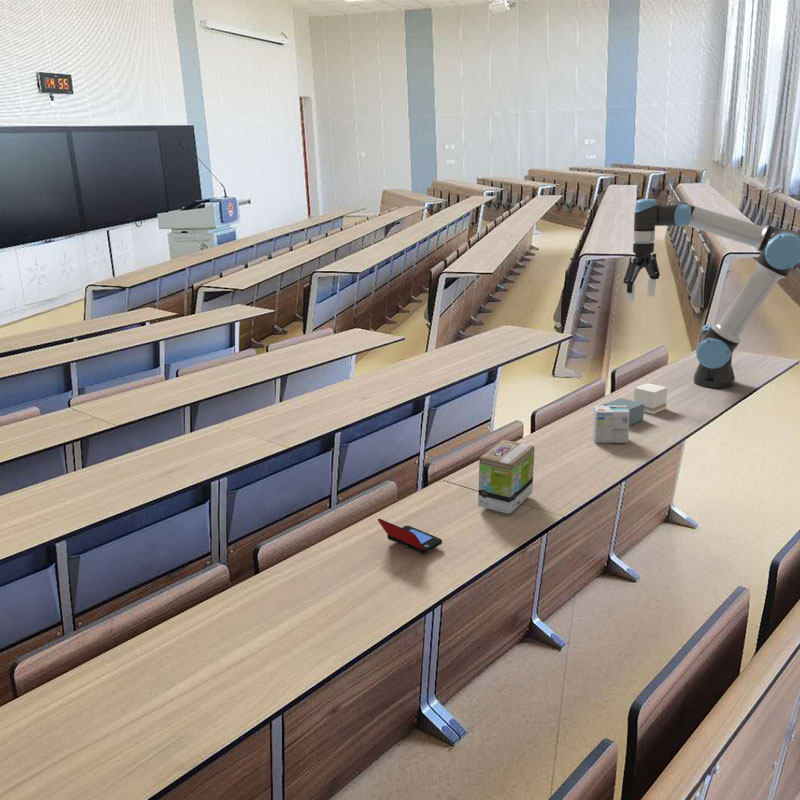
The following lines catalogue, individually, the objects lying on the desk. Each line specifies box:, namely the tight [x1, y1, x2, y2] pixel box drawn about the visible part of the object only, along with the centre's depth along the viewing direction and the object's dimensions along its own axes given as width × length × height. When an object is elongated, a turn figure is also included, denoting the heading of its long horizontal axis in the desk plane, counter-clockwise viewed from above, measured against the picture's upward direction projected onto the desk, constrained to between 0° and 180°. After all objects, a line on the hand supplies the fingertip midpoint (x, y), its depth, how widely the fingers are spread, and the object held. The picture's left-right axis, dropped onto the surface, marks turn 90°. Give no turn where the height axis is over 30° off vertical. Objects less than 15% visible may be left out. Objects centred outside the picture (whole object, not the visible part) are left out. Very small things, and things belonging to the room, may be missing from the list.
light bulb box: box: [592, 405, 630, 444], centre depth 252 cm, size 11×7×11 cm, turn 84°
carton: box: [633, 382, 668, 415], centre depth 279 cm, size 8×8×8 cm
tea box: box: [477, 439, 535, 515], centre depth 211 cm, size 15×10×15 cm
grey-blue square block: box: [602, 397, 645, 426], centre depth 270 cm, size 10×10×6 cm
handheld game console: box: [377, 518, 443, 555], centre depth 192 cm, size 12×11×7 cm
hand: (640, 298), depth 296 cm, fingers open, 13 cm apart
